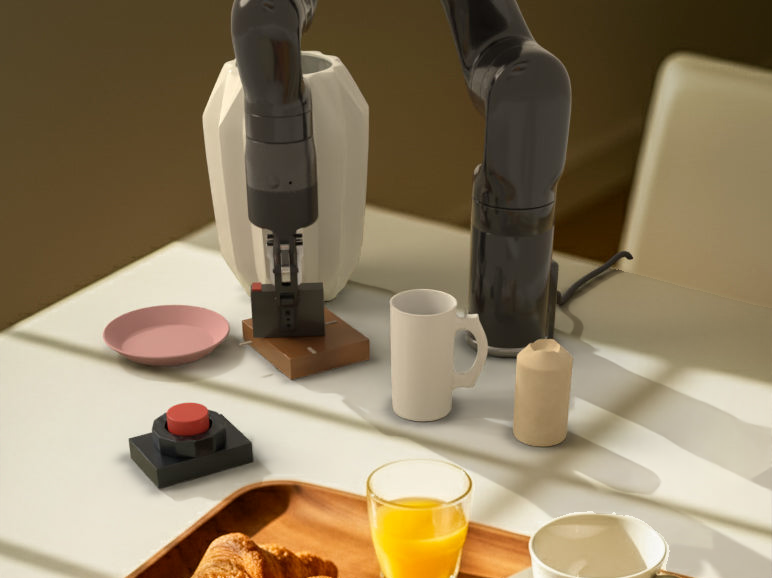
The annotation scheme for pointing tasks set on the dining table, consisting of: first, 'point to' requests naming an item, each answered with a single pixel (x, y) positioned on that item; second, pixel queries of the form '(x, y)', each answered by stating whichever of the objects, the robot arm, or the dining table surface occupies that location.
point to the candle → (542, 393)
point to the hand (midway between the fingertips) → (288, 328)
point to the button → (188, 419)
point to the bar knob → (267, 310)
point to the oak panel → (311, 348)
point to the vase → (334, 176)
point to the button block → (189, 451)
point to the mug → (429, 353)
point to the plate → (166, 334)
